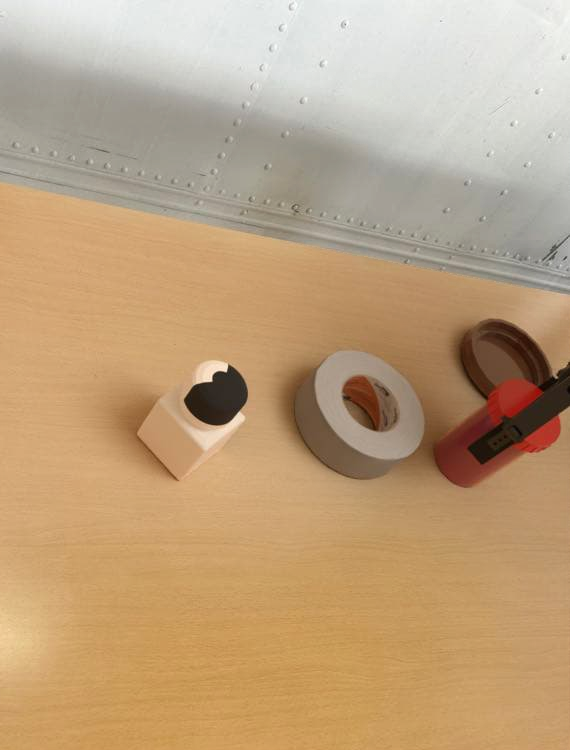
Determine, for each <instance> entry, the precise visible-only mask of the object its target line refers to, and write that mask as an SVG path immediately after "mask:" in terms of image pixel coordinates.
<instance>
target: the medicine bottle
mask: <svg viewBox="0 0 570 750" xmlns="http://www.w3.org/2000/svg"><path fill="white" fill-rule="evenodd" d="M248 397H249V390H248V386H247V382H246V380H245V379H244V377H243V375H242V374H241V373H240V372H239V371H238V369H236V368H235V367H234V366H233V365H231V364H229V363H227V362H225V361H221V360H215V359H210V360H204V361H203V362H201V363H199V364H198V365H196V366H195V368H194V369H193V371H192V373H191V374H190V376H189V377H188V378H187V379H186V380H184V381H183V382H181V383H180V384H178V385H177V386H175V387H174V388H173V389H171V390H169V391H168V392H167V393H165V394H164V395H163V396H161V397H160V398H158V399H157V401H156V402H155V404H154V406H153V407H152V408H151V410H150V412H149V413H148V415H147V416H146V418H145V420H144V421H143V423H142V424H141V425H140V427H139V428H138V430H137V432H136V436H137V437H138V438H139V439H140V441H142V442H143V444H144V445H145V446H146V447H147V448H148V449H149V450H150V451H151V452H152V454H154V456H155V457H156V458H157V459H158V460H159V461H160V462H161V464H162V465H163V466H164V467H166V469H167V470H168V471H169V472H170V473H171V474H172V475H173V477H174V478H175V479H176V480H178V481H183V480H184V479H185V478H187V477H188V475H190V474H192V473H194V471H195V470H196V469H198V468H200V466H201V465H202V464H204V463H205V462H207V461H208V460H209V459H210V458H212V456H214V455H215V454H216V453H218V452H219V451H220V450H221V448H222V447H224V446H225V444H226V443H227V442H228V440H229V439H230V438H232V436H233V435H234V434H235V432H236V431H237V430H238V429H239V428H240V427H241V425H242V424H244V422H245V421H246V416H245V415H244V414H243V413H242V412H241V410H242V409H243V408H244V406H245V405H246V404H247V402H248Z"/></svg>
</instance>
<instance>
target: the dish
mask: <svg viewBox="0 0 570 750" xmlns="http://www.w3.org/2000/svg"><path fill="white" fill-rule="evenodd" d="M542 349H543V348H542V347H541V346H540V345H539V344H538V342H537V341H536V340H535V339H534V338H533V337H532V336H531V335H530V334H529V333H528V332H527V331H525V330H524V329H522V328H521V327H519V326H518V325H516V324H514V323H513V322H509V321H508V320H505V319H502V318H494V317H493V318H492V317H491V318H486V319H483V320H481V321H479V322H478V323H477V324H476V325H474V327H472V328H471V329H470V330H469V331H468V332H467V333H466V335H464V337H463V340H462V345H461V355H462V362H463V364H464V367H465V370H466V372H467V374H468V376H469V378H470V379H471V380H472V382H473V383H474V385H475V386H476V387H477V388H478V389H479V390H480V391H481V392H482V393H483V395H485V396H486V397H487V399H488V398H489V396H490V394H491V392H492V391H493V390H494V389H496V387H497V386H499V385H500V384H501V383H504V382H505V381H507V380H509V379H515V378H516V379H522V380H525V381H528V382H530V383H532V384H534V385H535V386H537V387H538V386H539V385H541V384H542V383H544V382H545V381H546V380H548V379H549V378H550V377H552V376H554V373H553V369H552V366H551V364H550V362H549V359H548V357H547V355H546V353H545V352H544V350H542Z"/></svg>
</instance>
